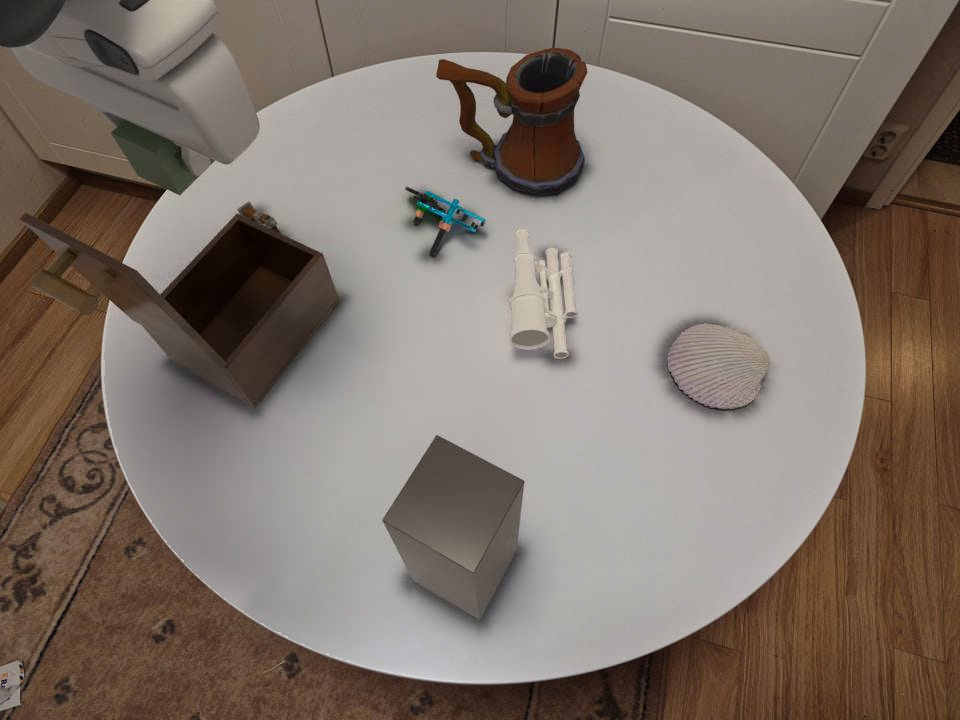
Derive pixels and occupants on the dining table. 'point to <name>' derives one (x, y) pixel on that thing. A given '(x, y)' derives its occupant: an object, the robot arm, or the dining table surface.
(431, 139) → the dining table surface
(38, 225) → the chest lid
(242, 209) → the wooden post with brackets
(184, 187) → the block
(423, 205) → the stick construction toy
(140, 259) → the dining table surface
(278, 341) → the chest
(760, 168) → the dining table surface
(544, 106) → the mug
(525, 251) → the white tubular piece
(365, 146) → the dining table surface
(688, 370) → the seashell
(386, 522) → the stand
